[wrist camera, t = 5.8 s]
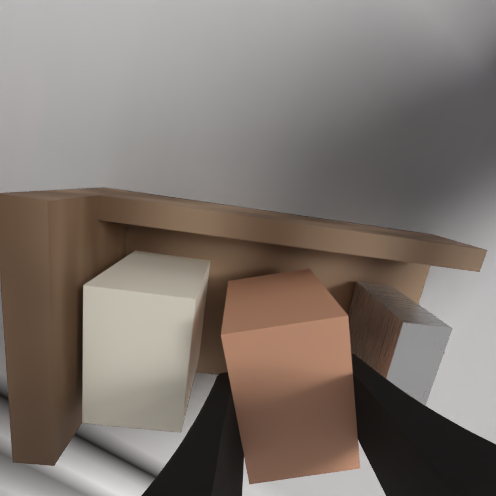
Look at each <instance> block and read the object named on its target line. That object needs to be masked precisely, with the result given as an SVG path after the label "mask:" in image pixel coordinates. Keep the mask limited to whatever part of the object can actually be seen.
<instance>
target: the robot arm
mask: <svg viewBox="0 0 496 496" xmlns="http://www.w3.org/2000/svg"><path fill="white" fill-rule="evenodd" d="M351 357H352V370H353V383H354V396H355V409H356V422H357V435H358V440H359V442H360V444H361V446H362V448H363V450H364V452H365V454H366V456H367V458H368V460H369V462H370V464H371V466H372V468H373V470H374V472H375V474H376V476H377V478H378V480H379V482H380V484H381V486H382V488H383V490H384V492H385V494H386V496H496V444H494V443H492V442H490V441H488V440H486V439H484V438H482V437H480V436H478V435H476V434H474V433H472V432H470V431H468V430H466V429H464V428H462V427H461V426H459V425H457V424H455V423H454V422H452V421H450V420H448V419H447V418H445V417H443V416H441V415H440V414H438V413H436V412H435V411H433V410H431V409H430V408H428V407H426V406H425V405H423V404H422V403H420V402H419V401H417V400H416V399H414V398H413V397H411V396H410V395H408V394H407V393H405V392H404V391H402V390H401V389H400V388H398V387H397V386H395V385H394V384H393V383H391V382H390V381H389V380H387V379H386V378H385V377H383V376H382V375H381V374H379V373H378V372H377V371H375V370H374V369H373V368H372V367H370V366H369V365H368V364H366V363H365V362H364V361H363V360H361V359H360V358H359V357H358V356H356V355H355V354H354V353H353V354H351ZM243 463H244V453H243V447H242V442H241V437H240V432H239V427H238V421H237V416H236V411H235V406H234V401H233V395H232V390H231V385H230V380H229V375H228V372H225V373H220V374H219V375H218V376H217V378H216V381H215V383H214V385H213V387H212V389H211V391H210V394H209V396H208V398H207V400H206V402H205V403H204V405H203V407H202V409H201V411H200V413H199V414H198V416H197V418H196V420H195V422H194V423H193V425H192V426H191V428H190V430H189V431H188V433H187V435H186V436H185V438H184V440H183V441H182V443H181V444H180V446H179V447H178V449H177V450H176V452H175V453H174V454H173V456H172V457H171V459H170V460H169V461H168V463H167V464H166V465H165V467H164V468H163V469H162V471H161V472H160V473H159V475H158V476H157V477H156V478H155V480H154V481H153V482H152V483H151V485H150V486H149V487H148V488H147V490H146V491H145V492H144V493H143V494H142V496H242V483H243Z"/></svg>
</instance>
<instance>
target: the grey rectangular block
mask: <svg viewBox="0 0 496 496" xmlns="http://www.w3.org/2000/svg"><path fill="white" fill-rule="evenodd" d="M348 319H349V332H350V345H351V354H353V353H354V354H355V355H356V356H358V357H359V358H360V359H361V360H363V361H364V362H365V363H366V364H368V365H369V366H370V367H372V368H373V369H374V370H375V371H377V372H378V373H379V374H381V375H382V376H383V377H385V378H386V379H387V380H389V381H390V382H391V383H393V384H394V385H395V386H397V387H398V388H400V389H401V390H402V391H404V392H405V393H407V394H408V395H410V396H411V397H413V398H414V399H416V400H417V401H419V402H420V403H422V404H423V405H426V402H427V399H428V397H429V394H430V391H431V388H432V385H433V382H434V379H435V377H436V374H437V371H438V368H439V365H440V362H441V359H442V356H443V354H444V351H445V348H446V345H447V342H448V339H449V336H450V334H451V331H452V328H451V327H450V326H448V325H447V324H445V323H444V322H443V321H441V320H440V319H438V318H437V317H435V316H434V315H433V314H431V313H430V312H428V311H427V310H426V309H424V308H423V307H421V306H420V305H418V304H417V303H416V302H414V301H413V300H411V299H410V298H408V297H407V296H406V295H404V294H403V293H401V292H400V291H398V290H397V289H396V288H394V287H393V286H389V285H382V284H374V283H366V282H359V281H356V285H355V290H354V294H353V298H352V302H351V306H350V310H349V314H348Z"/></svg>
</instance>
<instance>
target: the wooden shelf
mask: <svg viewBox="0 0 496 496" xmlns="http://www.w3.org/2000/svg"><path fill="white" fill-rule="evenodd" d="M134 251H142V252H150V253H157V254H165V255H173V256H180V257H188V258H195V259H203V260H210V269H209V277H208V286H207V294H206V303H205V311H204V320H203V328H202V337H201V345H200V354H199V360H198V364H197V368H196V372H200V373H209V374H218V375H219V374H220V373H225V372H228V369H227V364H226V359H225V354H224V349H223V343H222V338H221V330H222V323H223V316H224V308H225V301H226V294H227V287H228V281H231V280H237V279H244V278H251V277H257V276H264V275H270V274H277V273H283V272H290V271H297V270H303V269H311V271H312V272H313V273H314V274H315V276H316V277H317V278H318V279H319V280H320V282H321V283H322V284H323V285H324V287H325V288H326V289H327V290H328V291H329V293H330V294H331V295H332V296H333V298H334V299H335V300H336V301H337V302H338V304H339V305H340V306H341V307H342V309H343V310H344V311H345V312H346V314H347V315H348V314H349V310H350V306H351V302H352V298H353V294H354V290H355V285H356V281H359V282H366V283H374V284H382V285H389V286H393V287H394V288H396V289H397V290H398V291H400V292H401V293H403V294H404V295H406V296H407V297H408V298H410V299H411V300H413V301H414V302H416V303H417V304H419V300H420V297H421V294H422V291H423V288H424V284H425V281H426V278H427V275H428V271H429V268H430V265H432V266H440V267H447V268H454V269H462V270H469V271H476V272H480V269H481V266H482V263H483V261H484V258H485V255H486V252H487V250H485V249H481V248H478V247H474V246H471V245H467V244H464V243H460V242H457V241H453V240H450V239H446V238H443V237H439V236H436V235H432V234H426V233H419V232H412V231H405V230H398V229H391V228H384V227H377V226H370V225H363V224H356V223H349V222H342V221H335V220H328V219H321V218H314V217H307V216H300V215H293V214H286V213H279V212H272V211H265V210H258V209H251V208H244V207H237V206H230V205H223V204H216V203H209V202H202V201H195V200H188V199H181V198H174V197H167V196H160V195H153V194H146V193H139V192H132V191H125V190H118V189H111V188H104V187H103V188H85V189H66V190H48V191H30V192H11V193H0V279H1V294H2V309H3V323H4V338H5V353H6V368H7V383H8V398H9V413H10V428H11V443H12V458H13V462H16V463H27V464H39V465H50V466H54V465H55V463H56V462H57V460H58V459H59V457H60V456H61V454H62V453H63V451H64V450H65V448H66V447H67V445H68V444H69V442H70V441H71V439H72V438H73V436H74V434H75V433H76V431H77V430H78V428H79V427H80V425H81V424H82V394H83V285H84V284H86V283H87V282H89V281H90V280H92V279H93V278H95V277H96V276H98V275H99V274H101V273H102V272H104V271H105V270H107V269H108V268H110V267H111V266H113V265H114V264H116V263H117V262H119V261H120V260H122V259H123V258H125V257H126V256H128V255H129V254H131V253H132V252H134Z"/></svg>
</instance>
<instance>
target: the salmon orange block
mask: <svg viewBox="0 0 496 496" xmlns="http://www.w3.org/2000/svg"><path fill="white" fill-rule="evenodd" d="M221 338H222V343H223V349H224V354H225V359H226V364H227V369H228V375H229V380H230V385H231V390H232V395H233V401H234V406H235V411H236V416H237V421H238V427H239V432H240V437H241V442H242V447H243V453H244V458H245V463H246V468H247V473H248V479H249V484H254V483H261V482H268V481H275V480H282V479H289V478H296V477H303V476H310V475H317V474H324V473H331V472H338V471H345V470H352V469H359V468H360V460H359V447H358V435H357V422H356V409H355V396H354V383H353V370H352V357H351V345H350V332H349V319H348V315H347V314H346V312H345V311H344V310H343V309H342V307H341V306H340V305H339V304H338V302H337V301H336V300H335V299H334V298H333V296H332V295H331V294H330V293H329V291H328V290H327V289H326V288H325V287H324V285H323V284H322V283H321V282H320V280H319V279H318V278H317V277H316V276H315V274H314V273H313V272H312V271H311V269H303V270H297V271H290V272H283V273H277V274H270V275H264V276H257V277H251V278H244V279H237V280H231V281H228V287H227V294H226V301H225V308H224V316H223V323H222V330H221Z"/></svg>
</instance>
